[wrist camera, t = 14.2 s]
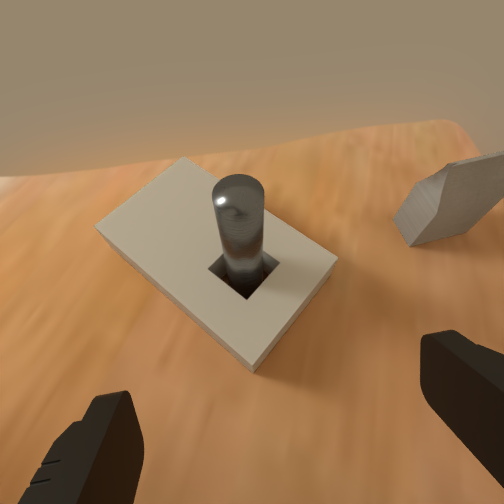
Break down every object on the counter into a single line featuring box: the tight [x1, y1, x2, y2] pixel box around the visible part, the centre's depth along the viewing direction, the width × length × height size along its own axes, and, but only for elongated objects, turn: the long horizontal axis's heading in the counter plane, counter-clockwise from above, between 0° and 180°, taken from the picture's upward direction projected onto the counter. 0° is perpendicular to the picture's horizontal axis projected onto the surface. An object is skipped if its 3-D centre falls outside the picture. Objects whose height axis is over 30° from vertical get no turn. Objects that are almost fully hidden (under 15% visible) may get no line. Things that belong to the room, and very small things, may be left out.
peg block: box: [94, 156, 338, 373], centre depth 31 cm, size 20×12×4 cm, turn 50°
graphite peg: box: [212, 174, 264, 300], centre depth 25 cm, size 3×3×14 cm
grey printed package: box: [393, 151, 504, 247], centre depth 30 cm, size 4×7×10 cm, turn 105°
